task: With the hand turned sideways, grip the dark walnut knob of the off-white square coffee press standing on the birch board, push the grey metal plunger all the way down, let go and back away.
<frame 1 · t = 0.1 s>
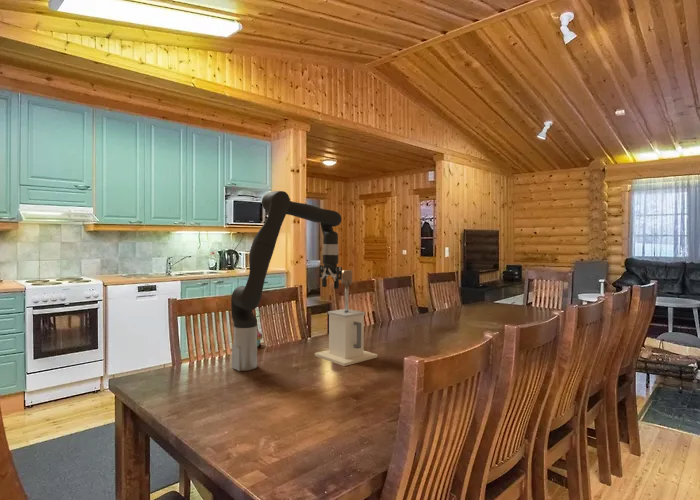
hand: (330, 287, 210), 29 cm above the table, tool pointing down, fingers open, 8 cm apart
press: (346, 356, 199), on the table
plunger: (346, 297, 197), point 27 cm above the table, slide at 9.0 cm
cupcake: (253, 346, 215), on the table
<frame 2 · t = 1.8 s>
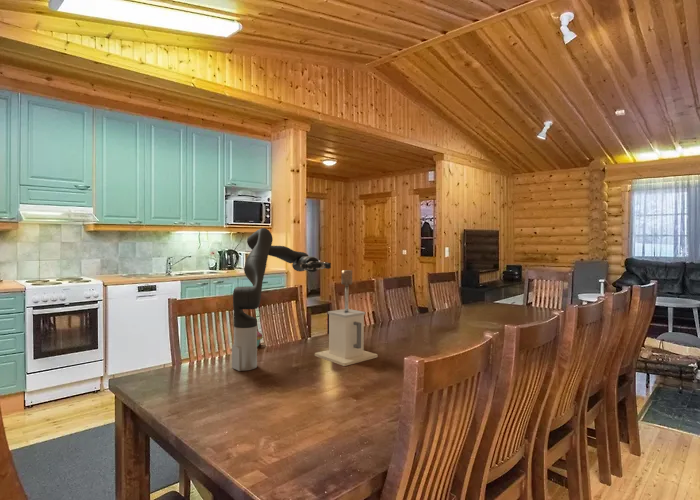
hand: (320, 266, 208), 39 cm above the table, tool horizontal, fingers open, 8 cm apart
nothing on the table moved.
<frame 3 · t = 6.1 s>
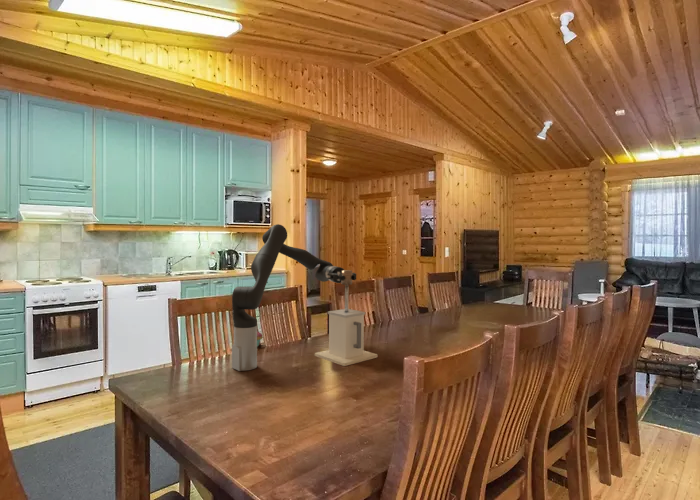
hand: (349, 278, 195), 36 cm above the table, tool horizontal, fingers closed on plunger, 4 cm apart
plunger: (346, 297, 197), point 27 cm above the table, slide at 9.0 cm, touching gripper
everything else where it was.
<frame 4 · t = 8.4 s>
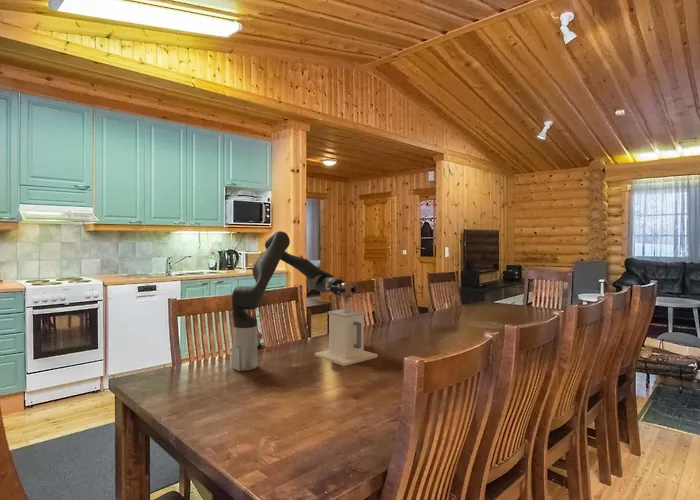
hand: (349, 290, 195), 30 cm above the table, tool horizontal, fingers closed on plunger, 4 cm apart
plunger: (346, 309, 198), point 21 cm above the table, slide at 3.4 cm, touching gripper
everything else where it was.
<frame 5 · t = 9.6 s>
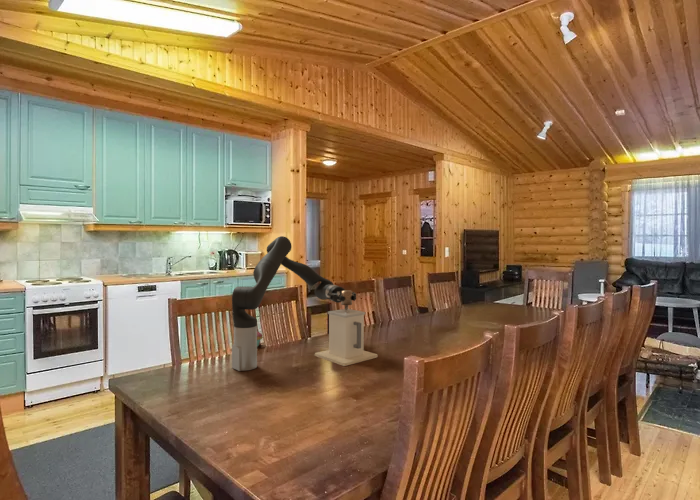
hand: (348, 298, 195), 27 cm above the table, tool horizontal, fingers closed on plunger, 4 cm apart
plunger: (346, 317, 198), point 18 cm above the table, slide at -0.1 cm, touching gripper
everything else where it was.
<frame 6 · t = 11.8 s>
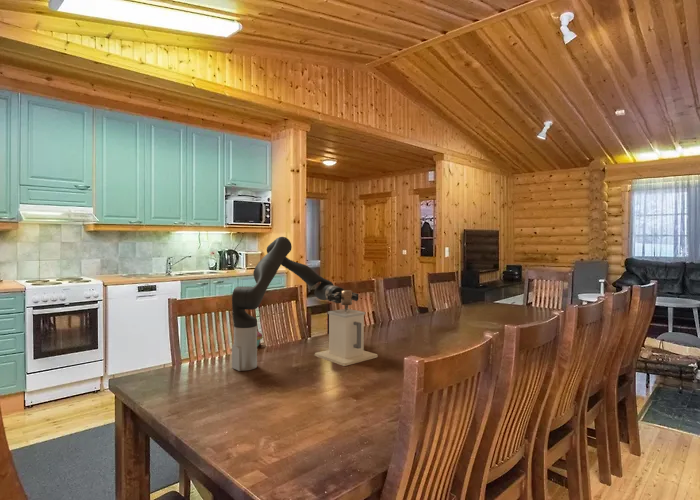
hand: (348, 299, 196), 26 cm above the table, tool horizontal, fingers open, 8 cm apart
plunger: (346, 317, 198), point 18 cm above the table, slide at -0.1 cm
everything else where it was.
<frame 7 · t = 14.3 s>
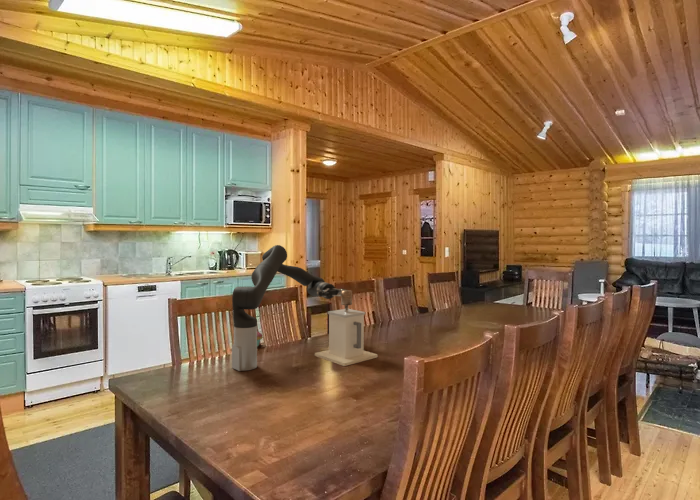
hand: (337, 294, 208), 26 cm above the table, tool horizontal, fingers open, 8 cm apart
nothing on the table moved.
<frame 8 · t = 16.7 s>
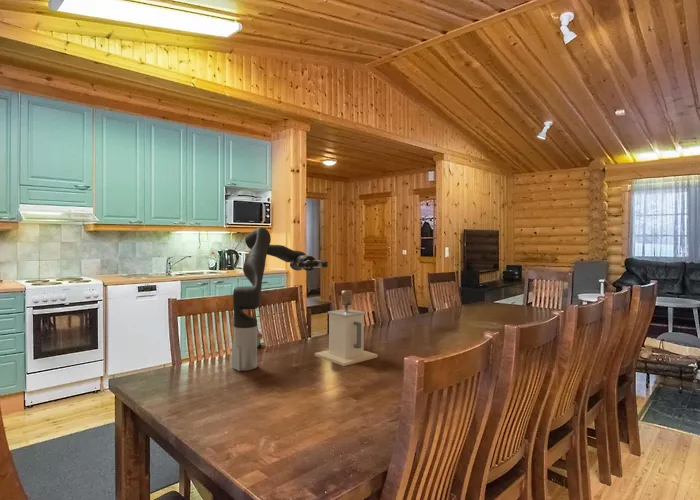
hand: (316, 265, 208), 40 cm above the table, tool horizontal, fingers open, 8 cm apart
nothing on the table moved.
at the end: plunger slide at -0.1 cm; the gripper is holding nothing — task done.
